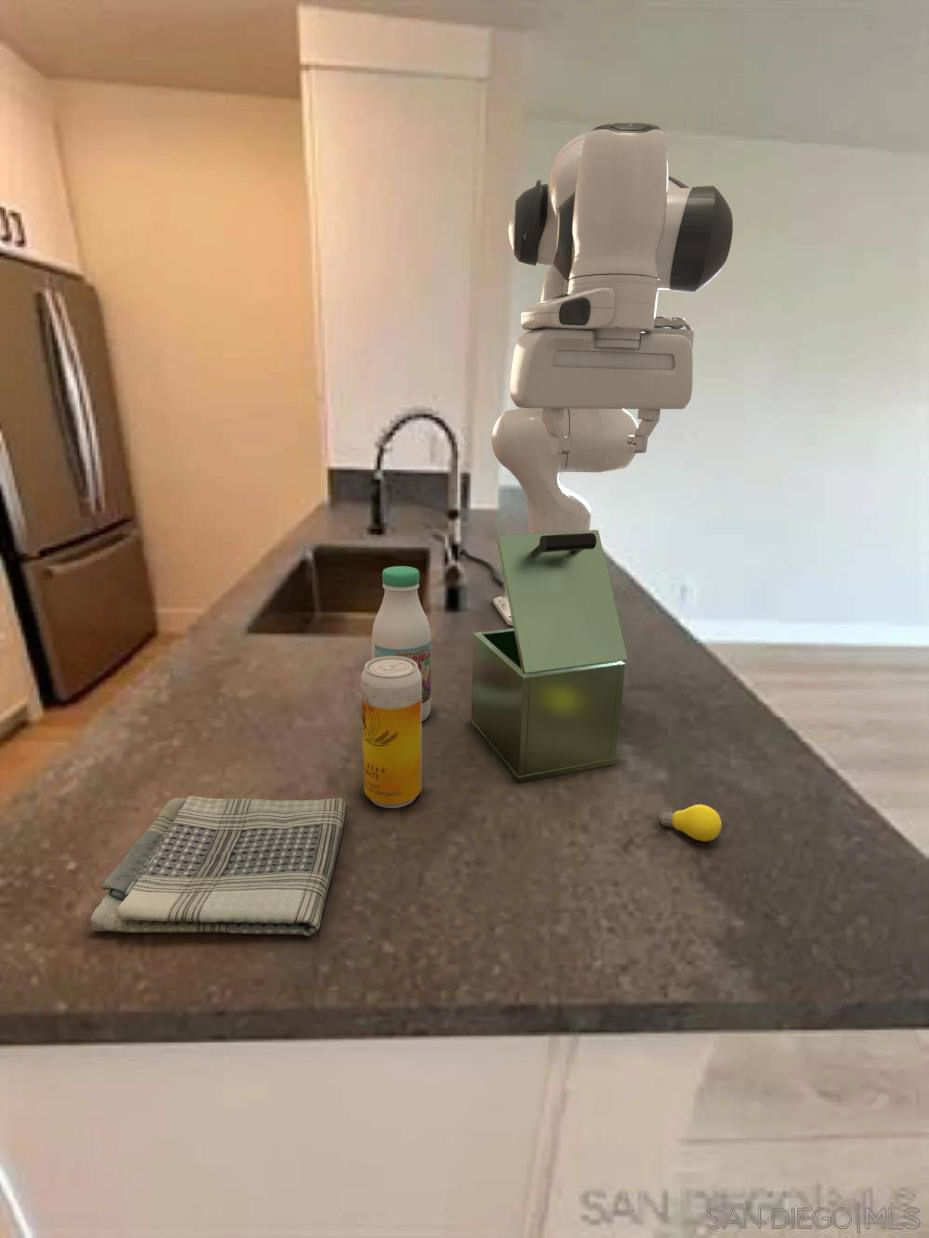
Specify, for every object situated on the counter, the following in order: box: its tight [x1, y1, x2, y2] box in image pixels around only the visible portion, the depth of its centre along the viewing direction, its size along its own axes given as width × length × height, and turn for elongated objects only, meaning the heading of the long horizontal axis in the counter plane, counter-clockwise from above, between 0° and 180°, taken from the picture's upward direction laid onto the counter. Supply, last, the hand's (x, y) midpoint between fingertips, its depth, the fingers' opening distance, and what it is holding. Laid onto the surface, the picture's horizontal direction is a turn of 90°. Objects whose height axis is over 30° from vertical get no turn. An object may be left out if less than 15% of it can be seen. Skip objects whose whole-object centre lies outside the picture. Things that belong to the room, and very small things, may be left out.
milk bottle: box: [371, 565, 432, 722], centre depth 87 cm, size 8×8×20 cm
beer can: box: [360, 656, 423, 809], centre depth 70 cm, size 6×6×15 cm
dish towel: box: [89, 795, 347, 937], centre depth 60 cm, size 19×18×3 cm
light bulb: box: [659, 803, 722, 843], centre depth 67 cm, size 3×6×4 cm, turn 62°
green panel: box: [495, 529, 629, 674], centre depth 72 cm, size 15×13×5 cm
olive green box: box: [470, 628, 626, 784], centre depth 82 cm, size 15×13×13 cm
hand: (598, 453), depth 72 cm, fingers open, 8 cm apart
